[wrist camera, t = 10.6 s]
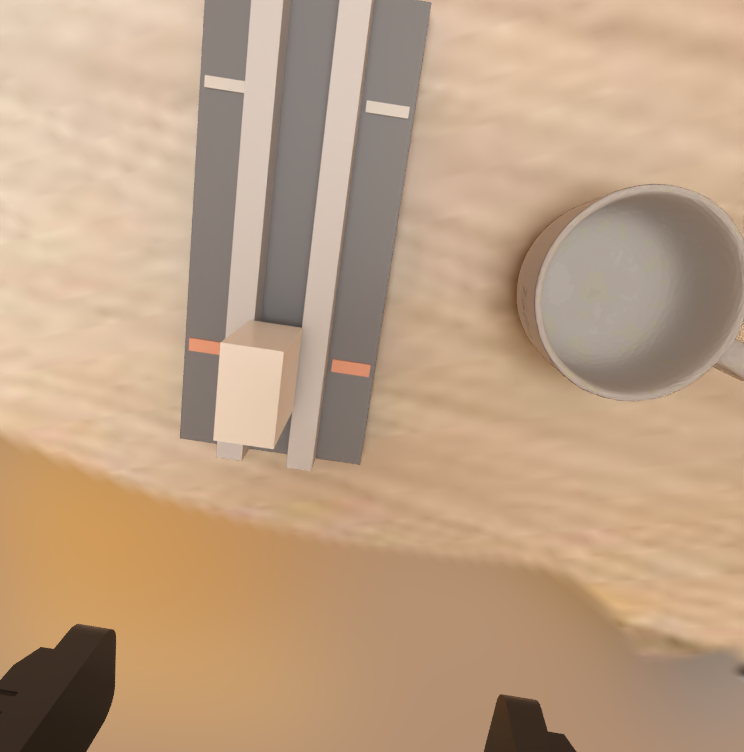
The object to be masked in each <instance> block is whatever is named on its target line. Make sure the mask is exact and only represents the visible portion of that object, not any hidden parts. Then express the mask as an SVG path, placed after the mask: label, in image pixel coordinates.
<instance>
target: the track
mask: <svg viewBox="0 0 744 752" xmlns="http://www.w3.org/2000/svg"><path fill="white" fill-rule="evenodd" d="M430 8H431V2H425V1H419V0H205V6H204V23H203V41H202V58H201V76H200V94H199V111H198V129H197V146H196V164H195V182H194V199H193V217H192V234H191V252H190V270H189V287H188V305H187V322H186V340H185V357H184V375H183V393H182V410H181V428H180V438H181V439H188V440H195V441H202V442H209V443H216V444H217V453H216V457H217V458H224V459H231V460H237V461H242V460H243V458H244V456H245V455H246V453H247V451H248V450H249V448H250V449H256V450H263V451H270V452H277V453H284V454H287V462H286V468H292V469H299V470H306V471H311V470H312V467H313V464H314V460H315V458H318V459H324V460H331V461H338V462H345V463H352V464H358V465H360V462H361V456H362V449H363V443H364V436H365V430H366V423H367V417H368V410H369V404H370V397H371V391H372V384H373V378H374V371H375V365H376V358H377V352H378V345H379V339H380V332H381V326H382V319H383V313H384V307H385V300H386V294H387V287H388V281H389V274H390V268H391V261H392V255H393V248H394V242H395V235H396V229H397V222H398V216H399V209H400V203H401V196H402V190H403V183H404V177H405V170H406V164H407V157H408V151H409V144H410V138H411V132H412V125H413V119H414V112H415V106H416V99H417V93H418V86H419V80H420V73H421V67H422V60H423V54H424V47H425V41H426V34H427V28H428V21H429V15H430ZM250 320H253V321H260V322H267V323H273V324H280V325H287V326H293V327H300V328H303V329H302V337H301V346H300V355H299V364H298V372H297V381H296V390H295V398H294V407H293V411H292V413H291V415H290V417H289V419H288V421H287V423H286V425H285V427H284V429H283V431H282V433H281V435H280V437H279V439H278V441H277V443H276V445H275V447H274V449H268V448H261V447H254V446H248V445H241V444H234V443H227V442H220V441H214V440H213V436H214V423H215V409H216V396H217V383H218V369H219V356H220V342H222V341H223V340H224V339H226V338H227V337H228V336H230V335H231V334H232V333H234V332H235V331H237V330H238V329H239V328H241V327H242V326H243V325H245V324H246V323H247V322H249V321H250Z"/></svg>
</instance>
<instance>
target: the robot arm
mask: <svg viewBox="0 0 744 752" xmlns="http://www.w3.org/2000/svg"><path fill="white" fill-rule="evenodd" d="M115 657H116V634H115V631H114V630H112V629H106V628H100V627H94V626H87V625H82V624H76V625H75V626H73V627H72V628H71V629H70V630H69V631H68V633H67V634H66V635H65V636H64V638H63V639H62V640H61V641H60V642H59V644H58V645H57V646H56V647H55V648H54V649H50V648H43V647H40V648H39V649H38V650H36V651H34V652H33V653H32V654H30V655H28V656H27V657H25V658H24V659H22V660H21V661H19V662H18V663H16V664H15V665H13V666H12V667H11V669H10V670H9V671H8V672H7V673H6V674H5V675H4V676H3V678H2V679H1V680H0V752H86V751H87V749H88V748H89V746H90V744H91V743H92V741H93V739H94V738H95V736H96V734H97V733H98V731H99V729H100V728H101V726H102V724H103V723H104V721H105V719H106V717H107V714H108V712H109V709H110V707H111V703H112V699H113V696H114V690H115ZM484 752H576V751H575V749H574V748H573V747H572V745H571V744H570V742H569V741H568V739H567V738H566V737H565V735H564V734H558V733H553V732H548V731H547V727H546V724H545V720H544V717H543V714H542V710H541V707H540V704H539V702H538V701H537V700H533V699H527V698H520V697H514V696H508V695H499V697H498V699H497V702H496V706H495V710H494V714H493V718H492V722H491V726H490V730H489V733H488V737H487V741H486V745H485V749H484Z"/></svg>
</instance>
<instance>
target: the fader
mask: <svg viewBox="0 0 744 752" xmlns="http://www.w3.org/2000/svg"><path fill="white" fill-rule="evenodd" d="M302 329H303V328H300V327H293V326H287V325H280V324H273V323H267V322H260V321H253V320H250V321H249V322H247V323H246V324H245V325H243V326H242V327H241V328H239V329H238V330H237V331H235V332H234V333H232V334H231V335H230V336H228V337H227V338H226V339H224V340H223V341H222V342H220V356H219V369H218V383H217V396H216V409H215V423H214V436H213V440H214V441H220V442H227V443H234V444H241V445H248V446H254V447H261V448H268V449H274V447H275V445H276V443H277V441H278V439H279V437H280V435H281V433H282V431H283V429H284V427H285V425H286V423H287V421H288V419H289V417H290V415H291V413H292V411H293V407H294V398H295V390H296V381H297V372H298V364H299V355H300V346H301V337H302Z"/></svg>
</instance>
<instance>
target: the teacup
mask: <svg viewBox="0 0 744 752" xmlns="http://www.w3.org/2000/svg"><path fill="white" fill-rule="evenodd" d="M517 308H518V313H519V317H520V321H521V324H522V326H523V329H524V331H525V333H526V335H527V337H528V338H529V340H530V342H531V343H532V344H533V346H534V347H535V348H536V350H537V351H538V352H539V353H540V354H541V355H542V356H543V357H544V358H545V359H546V360H547V361H548V362H549V363H551V364H552V365H553V366H554V367H556V368H557V369H558V370H559V371H560V372H561V373H562V374H563V375H564V376H565V377H566V378H568V379H569V380H570V381H571V382H572V383H574V384H575V385H577V386H578V387H580V388H581V389H583V390H586V391H588V392H590V393H592V394H596V395H598V396H601V397H604V398H608V399H614V400H619V401H642V400H649V399H656V398H660V397H663V396H666V395H670V394H671V393H674V392H676V391H679V390H681V389H683V388H684V387H686V386H688V385H690V384H691V383H693V382H694V381H695V380H697V379H698V378H699V377H701V376H702V375H703V374H705V373H706V372H707V371H708V370H709V369H710V368H711V367H712V366H713V367H715V368H716V369H718V370H720V371H722V372H724V373H726V374H728V375H730V376H733V377H735V378H737V379H739V380H741V381H744V343H742V342H740V341H738V340H736V339H735V338H736V336H737V335H738V332H739V330H740V328H741V326H742V323H743V321H744V239H743V237H742V235H741V233H740V232H739V230H738V229H737V227H736V226H735V224H734V223H733V221H732V220H731V219H730V217H729V216H728V214H727V213H725V212H724V211H723V210H722V209H721V208H720V207H719V206H718V205H717V204H715V203H714V202H713V201H711V200H710V199H708V198H706V197H705V196H703V195H701V194H699V193H696V192H694V191H691V190H688V189H685V188H681V187H677V186H672V185H662V184H648V185H639V186H634V187H629V188H625V189H622V190H619V191H615V192H613V193H611V194H609V195H606V196H604V197H602V198H599V199H596V200H593V201H590V202H587V203H585V204H582V205H580V206H578V207H575V208H573V209H571V210H570V211H568V212H566V213H565V214H563V215H561V216H560V217H559V218H557V219H556V220H555V221H553V222H552V223H551V224H550V225H549V226H548V227H547V228H546V229H544V230H543V232H542V233H541V234H540V235H539V236H538V237H537V239H536V240H535V241H534V243H533V244H532V246H531V247H530V249H529V251H528V252H527V254H526V257H525V259H524V261H523V264H522V266H521V270H520V273H519V277H518V283H517Z"/></svg>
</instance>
